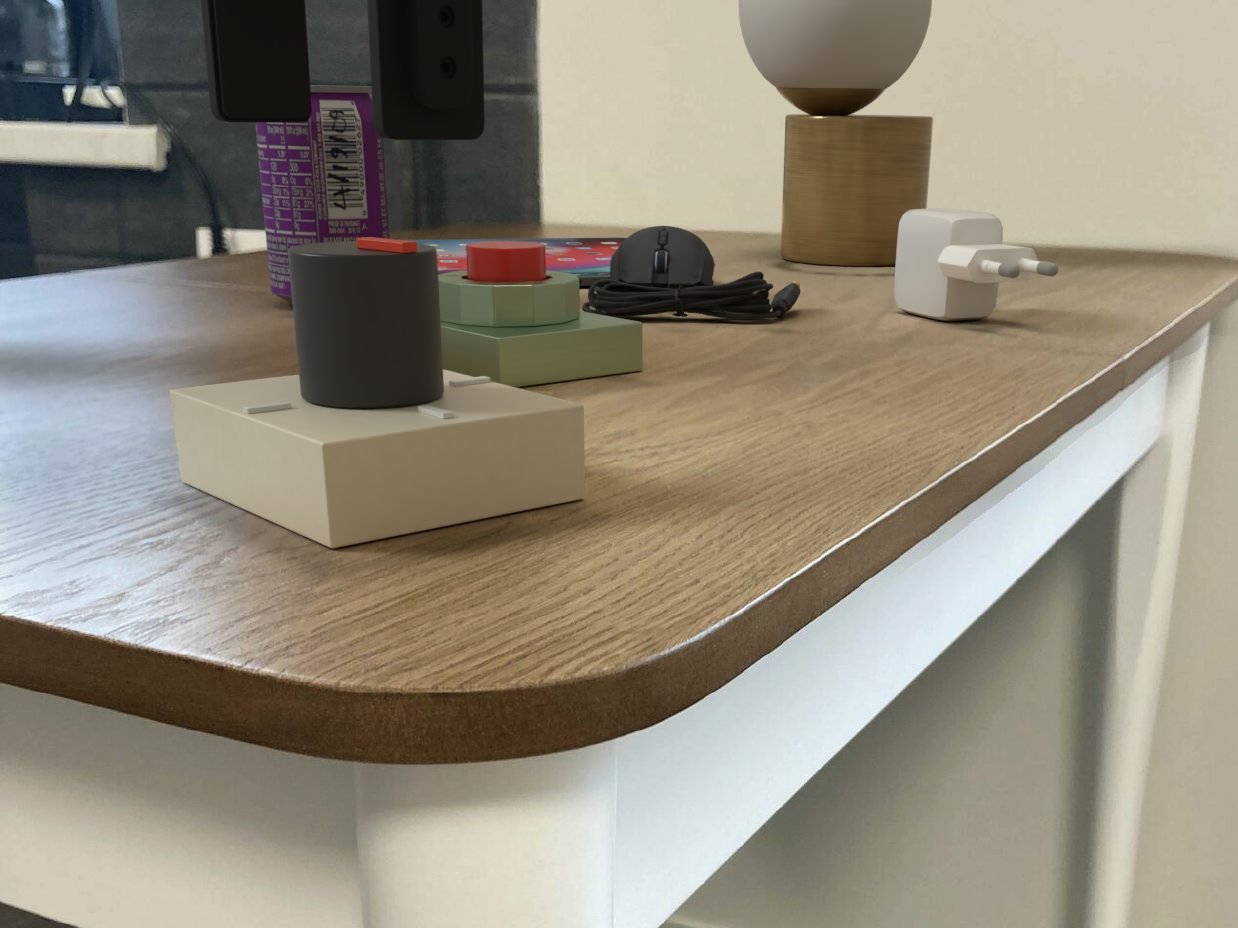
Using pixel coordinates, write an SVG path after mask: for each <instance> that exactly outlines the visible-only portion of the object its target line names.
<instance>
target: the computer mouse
mask: <svg viewBox="0 0 1238 928" xmlns="http://www.w3.org/2000/svg"><path fill="white" fill-rule="evenodd" d="M626 238H627V239H626V240H624V241H623V242H622V243H621V245H620V246H619V247H618V249H617V250H616V251H615V253H614V254H613V256H612V258H611V260H610V280H609V279H602V280H598V281H596V282H595V283H593V284H592V285H590V287H588V288H589V289H588V291H587V300H588V301H586V302H584V303H583V304H582V306H581V311H583V312H588V313H594V314H599V315H605V316H610V317H616V318H628V317H641V316H642V317H643V316H649V315H658V314H664V313H672V314H671V315H672V316H674V317H683V318H685V317H686V318H687V317H688V316H689V314H697V315H698V314H699V315H704V316H707V317H709V316H710V317H713V318H719V319H729V320H769V319H774V318H775V319H778V320H780V319H783V318H784V317H785V316H786V314H787V313H788V312H789V311H790V310H791V309H792V308H793V306H795V304H796V303H797V301H798V299H799V297H800V294H801V288H800V287H801V284H800V283H799V282H798V280H794V281H792V282H790V283H789V284H787V285H786V286H784V287H783V288H782V289H780V290H778V291H777V292H776V293H775V294H774V296H773V299H772V301H771V300H770V299H769V297H770V292H769V291H770V290H773V288H774V284H773V283H768V282H767V280H766V279H764V278H765V277H764V276H765V275H764V273H763V272H761V271H754V272H752V273H748V274H746V275H745V276H742V277H741V278H738V279H736V280H732V281H730V282H726V283H722V284H715V283H714V279H713V277H714V270H715V267H716V262H715V259H714V257H713V255H712V252H711V251H710V249H709V247H708V245H707V244H706V243H705V242H704V241H703V240H702V239H701V238H700V237H699V236H698V235H697V234H695V233H693V232H691V231H689V230H687V229H684V228H681V227H678V226H673V225H672V226H671V225H653V226H650V227H645V228H642V229H639V230H637V231H635V232H633V233H632V234H630V235H629V236H628V237H626ZM770 301H771V302H770ZM590 307H592V308H594V309H592V308H590ZM673 312H674V313H673ZM687 313H688V314H687Z"/></svg>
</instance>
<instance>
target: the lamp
mask: <svg viewBox="0 0 1238 928" xmlns="http://www.w3.org/2000/svg"><path fill="white" fill-rule="evenodd" d="M932 7H933V0H738V18H739V19H738V20H739V27H740V31H741V35H742V40H743V43H744V46H745V48H746V51H747V53H748V56H749V57H750V59H751V61H752V63H753V65H754V66H755V67H756V69H757V70H758V72H759V73H760V74H761V76H762V77H763V78H764V79H765V80H766V81H767V82H768V83H770V84H771V85H772V86H773V87H774V88H775V89H776V91H777V92H778V93H779V94H780V96H781V97H782V98H783V99H784V100H786V101H787V102H788V103H789V104H791V105H792V106H793V107H794V108H796V109H798V110H799V111H801V112H802V113H797V114H796V113H795V114H794V113H793V114H786V115H785V119H784V120H785V121H784V122H785V123H784V125H785V126H784V147H783V148H784V150H783V152H784V153H783V176H782V177H783V178H782V179H783V180H782V183H783V184H782V203H781V204H782V207H781V235H780V257H781V259H784V260H786V261H789V262H794V263H801V264H802V263H803V264H810V265H822V266H823V265H824V266H839V267H840V266H842V267H889V266H895V265H896V250H897V238H898V228H899V222H900V220H901V217H902V216H903V214H904V213H905V212H907V211H909V210H913V209H928V197H929V185H930V184H929V182H930V171H931V170H930V169H931V158H932V157H931V155H932V144H933V143H932V141H933V127H934V117H933V116H930V115H929V116H928V115H904V114H903V115H899V114H894V115H893V114H855V113H857V112H859V111H861V110H863V109H864V108H866V107H868V106H869V105H871V104H872V103H873V102H875V101H876V100H877V99H878V98H880V97H881V95H883V93H884V92H885V91H886V90H887V89H888V88H890V87H891V86H893V85H894V84H895V83H896V82H897V81H898V80H900V79H901V77H903V75H904V74H905V73H906V72H907V71H908V69H909V68H910V67H911V65H912V64H913V62H914V61H915V59H916V57H917V55H918V54H919V52H920V50H921V48H922V45H923V43H924V41H925V38H926V35H927V32H928V29H929V25H930V20H931V15H932Z"/></svg>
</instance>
